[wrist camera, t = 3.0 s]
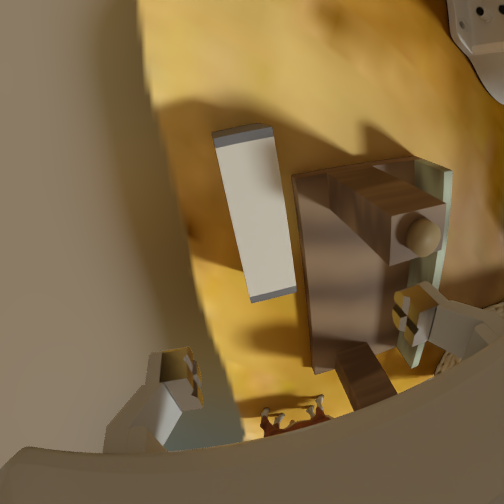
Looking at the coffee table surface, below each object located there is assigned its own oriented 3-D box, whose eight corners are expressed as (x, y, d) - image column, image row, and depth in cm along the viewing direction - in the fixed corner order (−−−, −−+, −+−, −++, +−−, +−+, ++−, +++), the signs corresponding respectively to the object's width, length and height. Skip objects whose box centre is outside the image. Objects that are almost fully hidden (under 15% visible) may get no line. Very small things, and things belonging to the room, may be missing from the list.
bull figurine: (342, 403, 40) (360, 447, 32) (253, 421, 38) (263, 470, 31) (347, 387, 38) (368, 433, 30) (252, 406, 36) (262, 458, 29)
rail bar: (211, 132, 20) (213, 138, 16) (259, 122, 20) (272, 126, 17) (243, 272, 26) (251, 303, 22) (282, 262, 26) (296, 291, 22)
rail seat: (291, 175, 23) (355, 233, 13) (414, 156, 23) (506, 195, 14) (312, 367, 34) (341, 443, 24) (398, 338, 34) (440, 400, 25)
